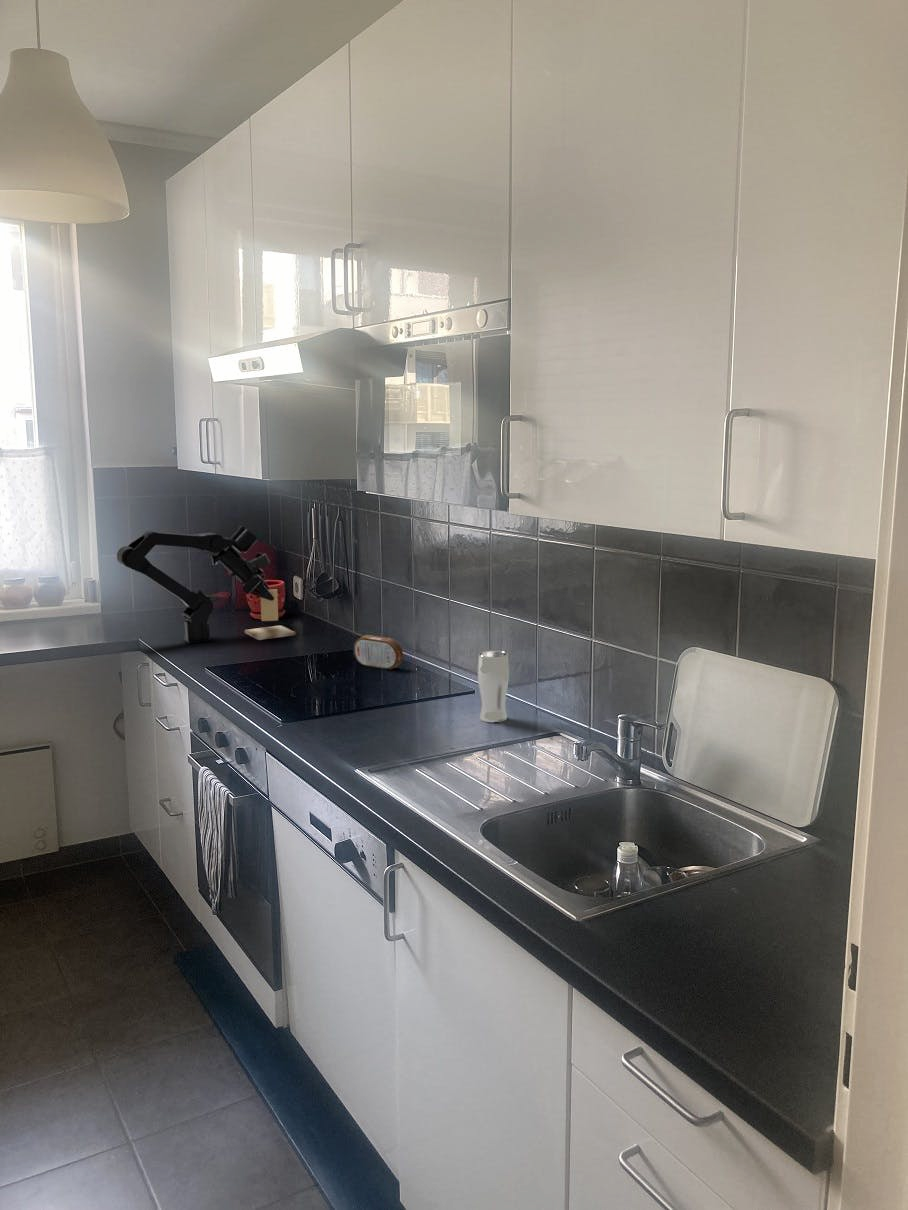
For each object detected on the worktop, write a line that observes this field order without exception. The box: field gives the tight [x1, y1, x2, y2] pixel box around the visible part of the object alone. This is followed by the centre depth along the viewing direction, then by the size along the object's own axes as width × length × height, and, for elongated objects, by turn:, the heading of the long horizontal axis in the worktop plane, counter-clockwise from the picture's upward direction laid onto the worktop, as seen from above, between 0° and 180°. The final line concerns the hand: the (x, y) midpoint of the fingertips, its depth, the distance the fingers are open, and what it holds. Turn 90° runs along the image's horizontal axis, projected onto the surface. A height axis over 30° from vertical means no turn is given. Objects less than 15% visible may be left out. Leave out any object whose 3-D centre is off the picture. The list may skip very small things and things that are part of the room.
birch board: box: [244, 625, 296, 641], centre depth 311 cm, size 12×12×1 cm
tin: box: [353, 634, 404, 670], centre depth 268 cm, size 15×3×8 cm, turn 58°
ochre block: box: [260, 589, 279, 622], centre depth 309 cm, size 5×5×9 cm
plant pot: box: [245, 579, 286, 620], centre depth 336 cm, size 13×13×12 cm
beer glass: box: [477, 649, 510, 724], centre depth 221 cm, size 7×7×15 cm
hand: (273, 598), depth 309 cm, fingers closed on ochre block, 5 cm apart
